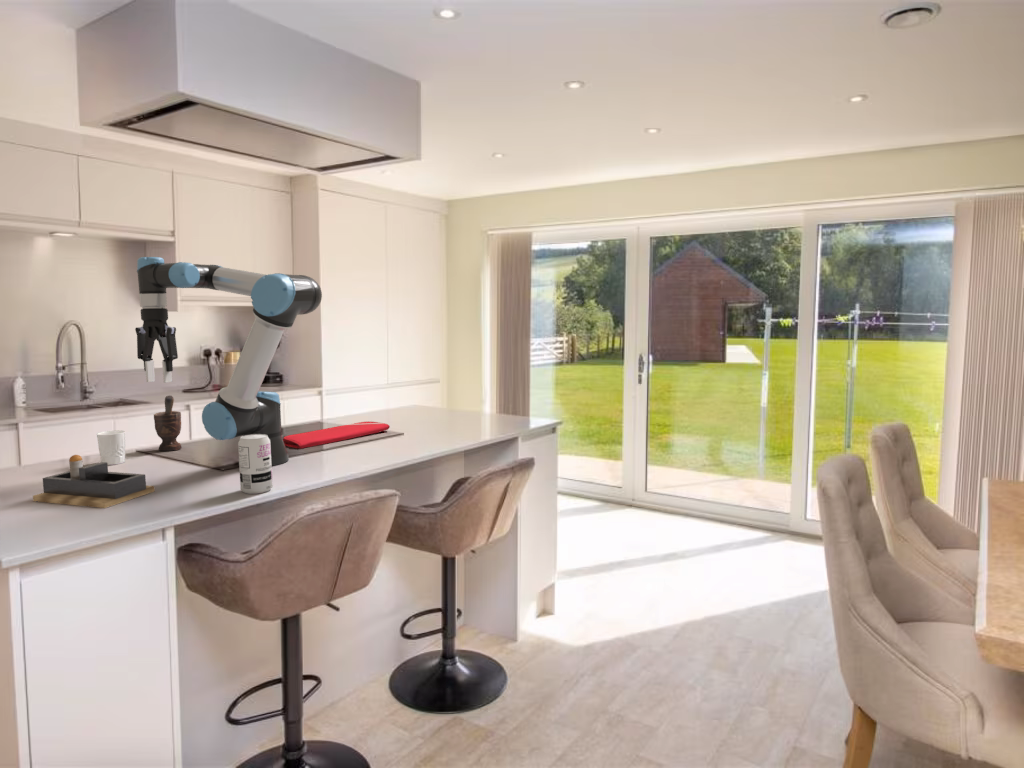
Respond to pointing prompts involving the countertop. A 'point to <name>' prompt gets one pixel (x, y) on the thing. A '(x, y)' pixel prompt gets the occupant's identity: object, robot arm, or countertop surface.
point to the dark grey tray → (95, 483)
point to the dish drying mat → (333, 434)
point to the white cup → (112, 446)
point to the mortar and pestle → (168, 426)
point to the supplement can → (255, 463)
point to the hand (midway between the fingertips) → (159, 381)
